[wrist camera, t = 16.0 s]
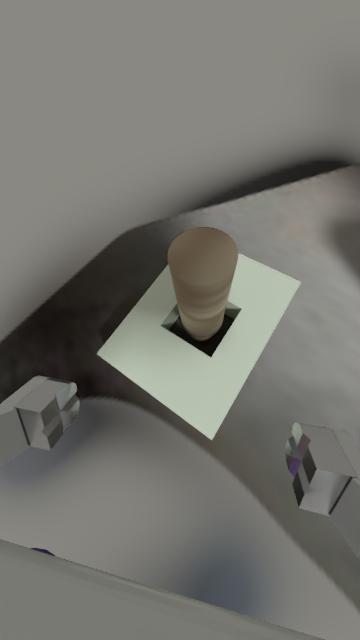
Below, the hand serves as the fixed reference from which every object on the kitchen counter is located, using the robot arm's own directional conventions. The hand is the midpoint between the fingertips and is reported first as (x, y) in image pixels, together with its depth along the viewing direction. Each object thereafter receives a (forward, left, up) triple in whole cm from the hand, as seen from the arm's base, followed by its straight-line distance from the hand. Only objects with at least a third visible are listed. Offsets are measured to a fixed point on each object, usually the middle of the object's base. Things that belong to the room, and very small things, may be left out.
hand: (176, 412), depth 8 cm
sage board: (+3, -7, -13) cm, 15 cm away
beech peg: (+3, -7, -13) cm, 15 cm away
